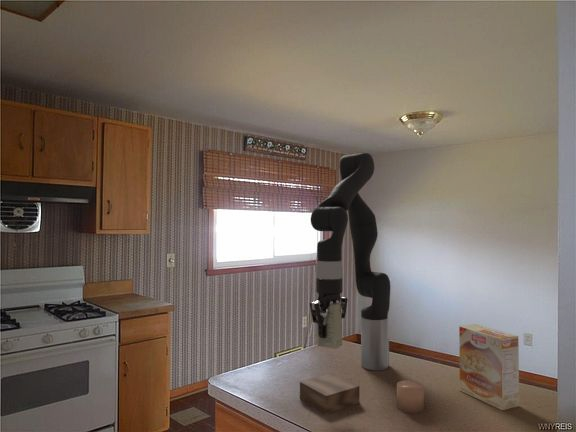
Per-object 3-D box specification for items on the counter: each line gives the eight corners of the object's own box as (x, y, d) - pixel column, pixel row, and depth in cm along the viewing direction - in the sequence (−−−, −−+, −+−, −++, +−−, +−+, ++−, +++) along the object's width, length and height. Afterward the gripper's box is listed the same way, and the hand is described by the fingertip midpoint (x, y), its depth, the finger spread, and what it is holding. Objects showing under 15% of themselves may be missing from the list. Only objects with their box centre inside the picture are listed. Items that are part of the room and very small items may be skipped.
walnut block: (331, 389, 126) (331, 373, 126) (359, 404, 116) (359, 386, 116) (299, 399, 119) (299, 381, 119) (326, 415, 109) (326, 395, 109)
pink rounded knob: (405, 399, 118) (405, 378, 118) (428, 407, 113) (428, 385, 113) (392, 407, 113) (391, 385, 113) (415, 415, 108) (414, 392, 108)
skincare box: (342, 345, 118) (342, 302, 118) (336, 349, 114) (335, 305, 115) (322, 342, 121) (322, 300, 122) (315, 346, 118) (315, 303, 118)
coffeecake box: (458, 390, 125) (458, 325, 125) (476, 386, 127) (475, 323, 128) (501, 411, 111) (501, 338, 111) (520, 406, 114) (519, 335, 114)
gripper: (335, 273, 126) (335, 329, 125) (302, 277, 116) (302, 337, 116) (355, 275, 120) (355, 334, 120) (321, 279, 111) (321, 343, 110)
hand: (329, 335), depth 118 cm, fingers closed on skincare box, 5 cm apart
